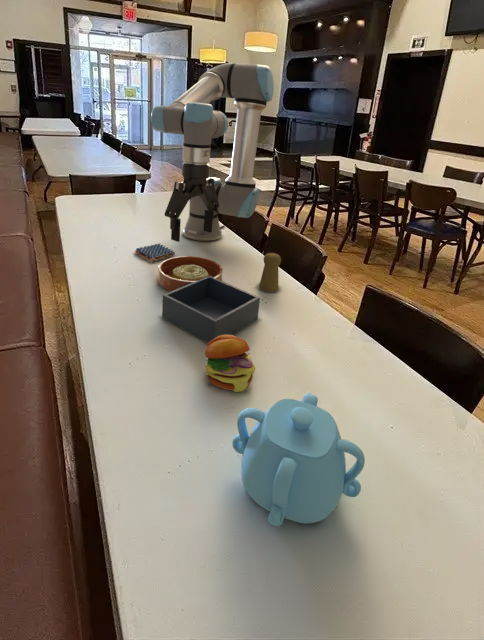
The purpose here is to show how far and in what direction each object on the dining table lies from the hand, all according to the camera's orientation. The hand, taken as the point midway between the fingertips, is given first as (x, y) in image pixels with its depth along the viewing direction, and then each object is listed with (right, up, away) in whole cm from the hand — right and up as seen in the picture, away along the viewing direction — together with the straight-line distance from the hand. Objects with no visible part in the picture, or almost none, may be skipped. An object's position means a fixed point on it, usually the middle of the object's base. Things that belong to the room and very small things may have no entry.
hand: (192, 235), depth 121 cm
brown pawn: (+23, -16, +6) cm, 29 cm away
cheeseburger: (+10, -31, -35) cm, 48 cm away
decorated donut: (-1, -14, +6) cm, 15 cm away
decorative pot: (+19, -41, -58) cm, 74 cm away
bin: (+6, -22, -14) cm, 27 cm away
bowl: (-1, -14, +6) cm, 15 cm away
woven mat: (-15, -6, +23) cm, 28 cm away
